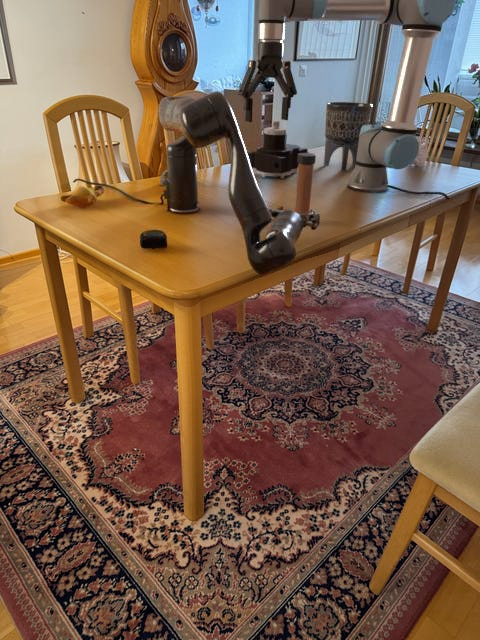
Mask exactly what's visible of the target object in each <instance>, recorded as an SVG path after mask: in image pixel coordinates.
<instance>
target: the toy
mask: <svg viewBox="0 0 480 640" xmlns="http://www.w3.org/2000/svg"><path fill="white" fill-rule="evenodd" d="M104 192H105V188H104V186H101V185H95V186H94V189H92V188H90V187H87V186H85V185H79V186H78V187H77V188H76V189H74V191H73V192H71V193H70V194H67V195H61V196H60V201H61V202H63V203H66V204H68V205H72V206H73V205H74V206H77V207H82V208H85V207H90V206H93V205H95V204H96V203H97V202H98V198H99V197H100V196H102V195H103V194H104Z"/></svg>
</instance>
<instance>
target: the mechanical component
mask: <svg viewBox="0 0 480 640" xmlns="http://www.w3.org/2000/svg"><path fill="white" fill-rule="evenodd" d="M287 138H288V129H287V128H286V127H280V121H279V120H272V126H271V127H265V128H264V129H263V145H262V146H258V147H257V148H256V151H250V150H246V152H247V155H248V158H249V161H250V164H251V168H252V169H255V173H256V174H257V175H261V177H262V178H267V177H279V178H280V179H285V176H291V175H292V173H297V174H298V163H297V160H298V154H299V153H310V152H309V151H308V148H304V147H301V146H299V145H297V144H290V143H287Z"/></svg>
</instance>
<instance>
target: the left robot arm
mask: <svg viewBox="0 0 480 640" xmlns="http://www.w3.org/2000/svg"><path fill="white" fill-rule="evenodd" d="M158 119H159V122H160V125H161V126H162V128H163V129H164V130H165V131H169V132H175V133H177V134H178V135H180V138H178V139H176V140H174V141H171V142H169V143H168V144H167V145H166V147H165V150H166V165H167V169H168V180H166V186H165V189H164V190H163V193H162V194H160V197H159V198H160V202H159V203H158V205H160V206H161V205H164V204H165V200H166V208H167V209H166V210H167V211H169V212H172V213H175V214H182V215H183V214H185V215H186V214H192V213H197V212H198V211H199V206H200V200H199V185H198V184H199V183H198V152H197V151H198V150H197V149H202V148H203V149H204V148H206V147H209V146H211V145H213V144H215V143H217V142H219V141H221V140H223V139H226V142H227V145H228V147H229V153H230V167H229V168H230V169H229V178H228V190H227V191H228V198H229V203H230V205H231V207H232V210H233V212H234V214H235V217H236V219H237V220H238V222H239V225H240V227H241V230H242V234H243V239H244V244H245V248H246V249H245V250H246V256H247V260H248V264H249V265H250V267H251V269H252V270H253V271H255V272H256V273H257V274H259V275H266V274H269V273H271V272H274V271H275V270H278V269H279V268H282V267H284V266H286V265H288V264H290V263H292V262H293V261H294V259H295V258H296V256H297V249H296V247H295V245H296V242H298V240H299V239H300V237H301V234H302V232H303V230H304V229H305V228H306V227H310V229H311V230H312V231H315V230H317V228H318V227H319V225H320V222H321V221H320V219H321V214H320V213H316V211H315V210H314V209H313V208H312V209H309V213H305V212H304V213H300V214H298V213H296V212H295V210H291V209H286V210H284V206H282V205H280V206H279V207H277V208H276V209H274V210H273V209H272V208H269V207H268V205H267V202H266V200H265V198H264V196H263V193H262V191H261V189H260V187H259V184H258V182H257V180H256V179H257V178H256V177H255V173H254V170H253V168H251V164H250V161H249V158H248V155H247V152H246V151H247V148H246V146H245V142H244V140H243V137H242V134H241V131H240V128H239V126H238V122H237V119H236V117H235V114H234V111H233V109H232V107H231V104H230V103H229V101H228V99H227V98H226V96H225V95H224V94H223V93H222V92H221V91H218V90H216V91H212V92H210V93H207V94H205V95H203V96H201V97H198V98H194V97H193V96H184V95H183V96H182V95H181V96H176V95H174V96H170V95H168V96H164V97H163V98H162V99H161V100H160V102H159V104H158ZM77 181H78V182H79V181H80V182H82V183H84V184H89V185H95V186H99V185H100V186H102V187H106V188H110V189H114V190H115V191H117V192H120V194H122V195H124V196H126V197H128V198H129V199H131V200H133V201H135V202H140V203H142V204H146V205H147V204H149V205H153V204H154V205H155V203H153V202H150V201H146V200H143V199H139V198H135V197H134V196H132V195H130V194H128V193H126V192H125V191H123V190H122V189H120V188H118V187H116V186H113V185H110V184H106V183H99V182H94V181H93V182H92V181H88V180H85V179H82V178H75V179H73V180H72V183H76V182H77ZM308 217H309V218H308ZM269 225H270V227H269V229H268V230H267V232H266V234H265V235H264V239H262V240H261V232H262V231H263V230H264V229H265V228H266V227H267V226H269Z"/></svg>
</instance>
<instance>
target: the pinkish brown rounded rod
mask: <svg viewBox="0 0 480 640" xmlns="http://www.w3.org/2000/svg"><path fill="white" fill-rule="evenodd" d="M314 165H315V164H300V163H298V171H297V176H296V177H297V179H296V188H295V200H294V201H295V202H294V212H296V213H298V214H300V213H304V212H305V213H309V212H310V206H311V198H312V197H311V195H312V186H313V177H314V176H313V175H314ZM308 218H309V217H308Z"/></svg>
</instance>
